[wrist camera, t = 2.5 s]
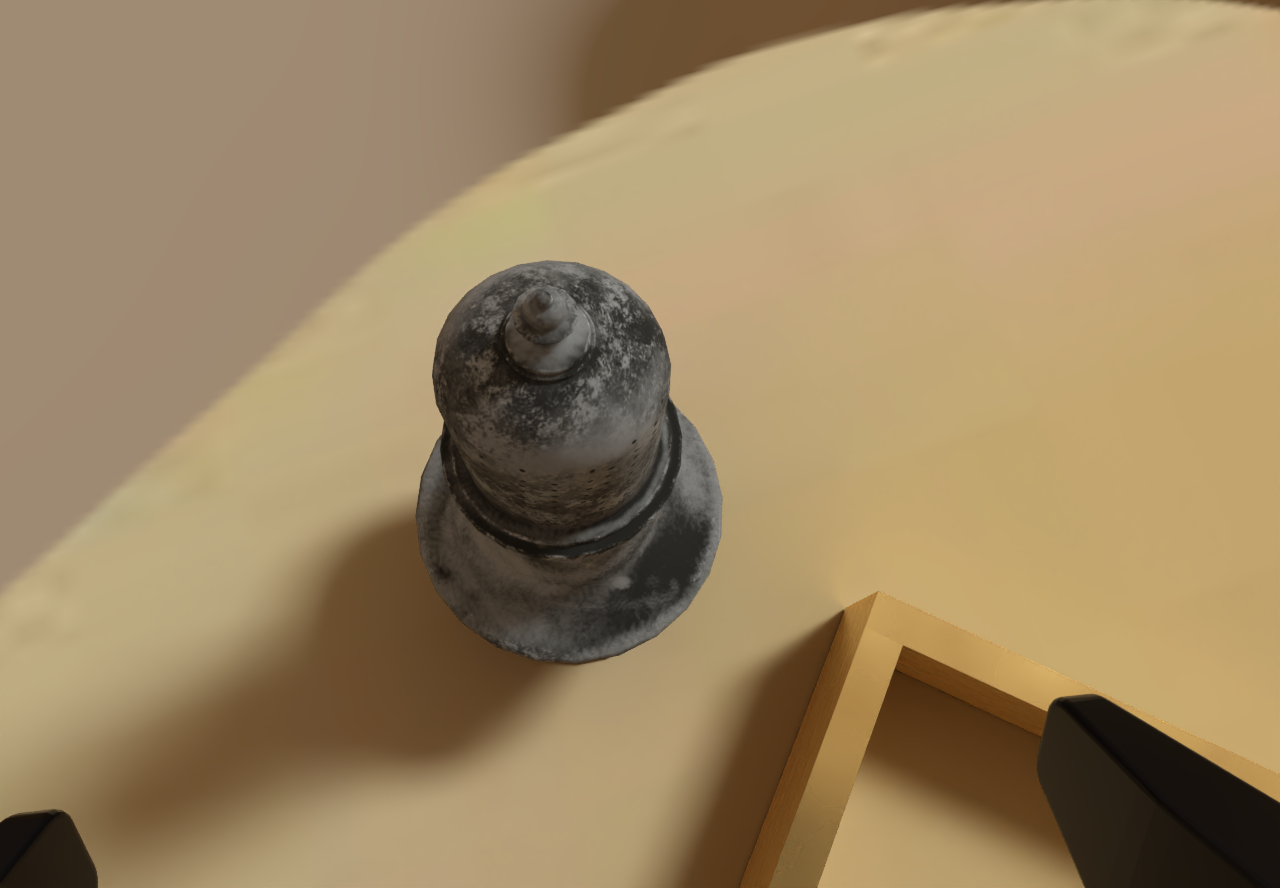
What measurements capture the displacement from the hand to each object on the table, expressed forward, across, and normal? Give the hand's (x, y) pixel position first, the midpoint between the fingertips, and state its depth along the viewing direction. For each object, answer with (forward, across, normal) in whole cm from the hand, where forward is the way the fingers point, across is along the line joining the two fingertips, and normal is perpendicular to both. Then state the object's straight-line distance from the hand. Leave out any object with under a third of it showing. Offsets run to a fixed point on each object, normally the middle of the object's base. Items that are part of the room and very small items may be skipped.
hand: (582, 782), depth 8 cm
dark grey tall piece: (+11, 0, +5) cm, 12 cm away
